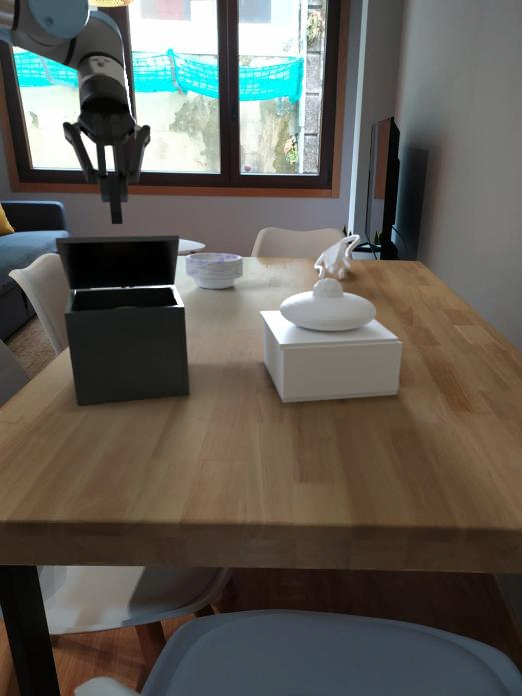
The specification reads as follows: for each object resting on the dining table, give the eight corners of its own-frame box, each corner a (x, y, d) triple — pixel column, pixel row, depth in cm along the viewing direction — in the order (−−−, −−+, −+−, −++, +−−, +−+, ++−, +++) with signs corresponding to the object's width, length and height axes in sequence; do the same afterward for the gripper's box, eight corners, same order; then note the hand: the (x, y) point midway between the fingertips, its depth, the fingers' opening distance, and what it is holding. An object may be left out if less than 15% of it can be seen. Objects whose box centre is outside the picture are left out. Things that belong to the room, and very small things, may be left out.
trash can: (189, 394, 80) (184, 306, 75) (77, 405, 76) (63, 313, 71) (179, 363, 92) (174, 285, 87) (81, 371, 88) (70, 290, 83)
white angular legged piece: (373, 277, 152) (371, 250, 170) (355, 251, 149) (355, 226, 167) (324, 308, 159) (327, 279, 177) (306, 284, 155) (311, 257, 174)
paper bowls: (248, 281, 154) (248, 252, 151) (235, 293, 140) (235, 262, 137) (196, 278, 156) (195, 250, 153) (179, 290, 142) (177, 259, 139)
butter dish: (397, 394, 81) (408, 289, 75) (279, 403, 78) (280, 293, 72) (359, 355, 97) (366, 266, 91) (260, 361, 94) (260, 268, 88)
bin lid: (179, 240, 73) (178, 235, 73) (55, 243, 69) (54, 237, 69) (174, 285, 87) (173, 280, 87) (70, 289, 82) (69, 284, 83)
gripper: (55, 72, 80) (63, 199, 72) (146, 77, 84) (163, 199, 75) (63, 114, 87) (71, 235, 79) (147, 118, 90) (163, 233, 82)
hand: (116, 217), depth 77 cm, fingers closed
